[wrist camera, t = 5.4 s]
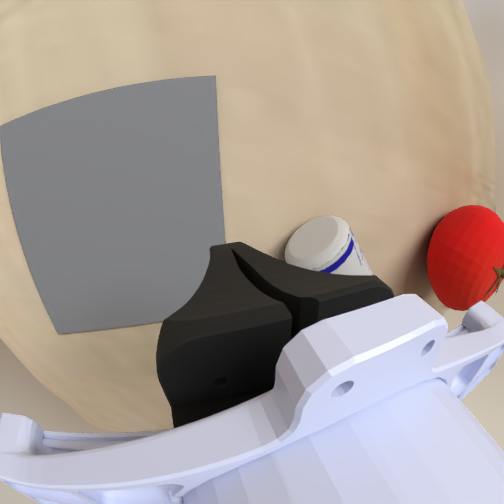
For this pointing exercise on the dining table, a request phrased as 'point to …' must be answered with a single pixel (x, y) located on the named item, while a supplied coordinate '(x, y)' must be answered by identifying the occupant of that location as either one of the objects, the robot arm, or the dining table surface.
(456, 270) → the tomato
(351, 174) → the dining table surface
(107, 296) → the mat
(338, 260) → the beverage can
